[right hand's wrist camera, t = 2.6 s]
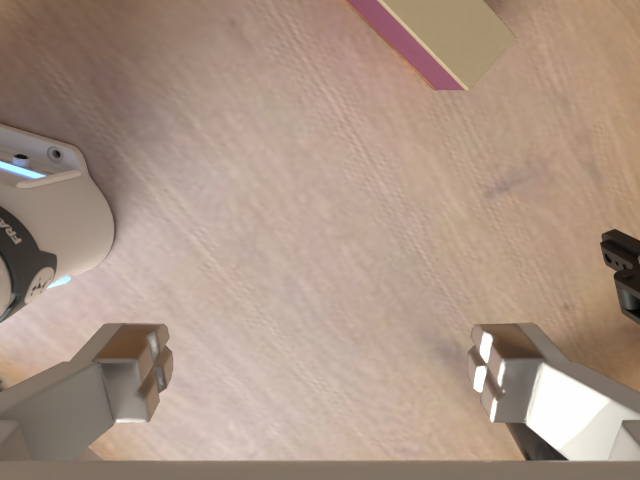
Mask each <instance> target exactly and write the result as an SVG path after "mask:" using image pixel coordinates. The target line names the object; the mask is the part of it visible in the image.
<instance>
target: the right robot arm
mask: <svg viewBox="0 0 640 480" xmlns="http://www.w3.org/2000/svg"><path fill="white" fill-rule="evenodd" d="M57 151H59V152H60V155H61V156H60V157H59V156H58V155H57ZM113 239H114V221H113V216H112V212H111V209H110V207H109V205H108V203H107V201H106V199H105V197H104V195H103V194H102V192H101V191H100V190H99V188H98V187H97V186H96V184H95V183H94V182H93V180H92V179H91V177H90V175H89V172H88V169H87V165H86V162H85V159H84V157H83V155H82V153H81V151H80V150H79V149H78V148H77V147H75V146H73V145H70V144H67V143H63V142H60V141H57V140H53V139H50V138H47V137H43V136H40V135H37V134H33V133H30V132H27V131H23V130H20V129H16V128H13V127H10V126H6V125H3V124H0V323H1V322H3V321H4V320H6V319H7V318H9V317H10V316H11V315H13V314H14V313H16V312H17V311H19V310H20V309H21V308H23V307H24V306H25V305H27V304H28V303H30V302H31V301H33V300H34V299H35V298H37V297H38V296H39V295H40V294H41V293H42V292H43V291H44V290H46V289H47V288H50V287H53V286H57V285H60V284H64V283H66V282H68V281H69V280H70V277H69V276H72V275H75V274H79V273H82V272H85V271H88V270H90V269H92V268H94V267H96V266H97V265H98V264H100V263H101V262H102V261H103V260H104V259H105V257H106V256H107V254H108V253H109V251H110V249H111V247H112V243H113ZM169 338H170V337H169V333H168V328H167V326H166V325H165V324H151V323H107V324H104V325H103V326H102V327H101V328H100V329H99V330H98V331H97V332H96V333H95V334H94V335H93V336H92V338H91V339H90V340H89V341H88V342H87V343H86V344H85V345H84V346H83V347H82V348H81V350H80V351H79V352H78V353H77V354H76V355H75V356H74V357H73V358H72V359H71V360H70V361H69V362H61V363H59V364H57V365H55V366H53V367H51V368H49V369H47V370H45V371H43V372H41V373H39V374H37V375H35V376H33V377H31V378H29V379H26V380H24V381H22V382H20V383H18V384H16V385H14V386H12V387H10V388H8V389H6V390H4V391H2V392H0V480H640V392H638V391H636V390H634V389H632V388H630V387H628V386H626V385H624V384H622V383H620V382H618V381H615V380H613V379H611V378H609V377H607V376H605V375H603V374H601V373H599V372H597V371H595V370H593V369H591V368H589V367H587V366H585V365H583V364H581V363H579V362H571V361H570V360H569V359H568V358H567V357H566V356H565V355H564V354H563V353H562V352H561V351H560V350H559V348H558V347H557V346H556V345H555V344H554V343H553V342H552V341H551V340H550V339H549V338H548V336H547V335H546V334H545V333H544V332H543V331H542V330H541V329H540V328H539V327H538V326H537V325H536V324H534V323H513V324H474V326H473V328H472V332H471V337H470V338H471V339H472V341H473V343H474V344H475V345H474V346H473V347H472V348H471V349H470V350H469V351H468V356H467V372H468V376H469V380H470V382H471V384H472V386H473V388H474V389H476V390H477V391H478V392H480V393H481V399H480V402H481V404H482V406H483V408H484V410H485V412H486V414H487V415H488V417H489V419H490V421H491V422H505V423H526V425H527V426H528V427H529V428H531V429H532V430H533V431H534V432H536V433H537V434H538V435H539V436H540V437H542V438H543V439H544V440H545V441H546V442H548V443H549V444H550V445H551V446H552V447H554V448H555V449H556V450H557V451H558V452H560V453H561V454H562V455H563V456H565V457H566V458H567V459H568V460H569V461H71V460H72V459H73V458H74V457H76V456H77V455H78V454H79V453H80V452H82V451H83V450H84V449H85V448H86V447H88V446H89V445H90V444H91V443H93V442H94V441H95V440H96V439H97V438H99V437H100V436H101V435H102V434H103V433H105V432H106V431H107V430H108V429H110V428H111V427H112V426H113V425H114V423H134V422H149V421H150V419H151V417H152V416H153V414H154V412H155V410H156V408H157V406H158V404H159V402H160V399H159V393H160V392H162V391H163V390H164V389H166V388H167V386H168V384H169V382H170V380H171V376H172V371H173V355H172V351H171V350H170V349H169V348H168V347H167V346H166V345H165V344H166V343H167V341H168V339H169Z"/></svg>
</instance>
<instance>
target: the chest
mask: <svg viewBox="0 0 640 480" xmlns="http://www.w3.org/2000/svg"><path fill="white" fill-rule="evenodd" d="M344 1H345V2H346V3H347V4H348V5H349V6H350V7H351V8H352V9H353V10H354V11H355V12H356V13H357V14H358V15H359V16H360V17H361V18H362V19H363V20H364V21H365V22H366V23H367V24H368V25H369V26H370V27H371V28H372V29H373V30H374V31H375V32H376V33H377V34H378V35H379V36H380V37H381V38H382V39H383V40H384V41H385V42H386V43H387V44H388V45H389V46H390V47H391V48H392V49H393V50H394V51H395V52H396V53H397V54H398V55H399V56H400V57H401V58H402V59H403V60H404V61H405V62H406V63H407V64H408V65H409V66H410V67H411V68H412V69H413V70H414V71H415V72H416V73H418V74H419V75H420V76H421V77H422V78H423V79H424V80H425V81H426V82H427V83H428V84H429V85H430V86H431V87H432V88H433V89H434V90H465V89H464V88H463V87H462V86H461V85H460V84H459V83H458V82H457V81H456V80H455V79H454V78H453V77H452V76H451V75H450V74H449V73H448V72H447V71H446V70H445V69H444V68H443V67H442V66H441V65H440V64H439V63H438V62H437V61H436V60H435V59H434V58H433V57H432V56H431V55H430V54H429V53H428V52H427V51H426V50H425V49H424V48H423V47H422V46H421V45H420V44H419V43H418V41H417V40H416V39H415V38H414V37H413V36H412V35H411V34H410V33H409V32H408V31H407V30H406V29H405V28H404V27H403V26H402V25H401V24H400V23H399V22H398V21H397V20H396V19H395V18H394V17H393V16H392V15H391V14H390V13H389V12H388V11H387V10H386V9H385V8H384V7H383V6H382V5H381V4H380V3H379V2H378V1H377V0H344Z"/></svg>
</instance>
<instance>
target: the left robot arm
mask: <svg viewBox="0 0 640 480" xmlns="http://www.w3.org/2000/svg"><path fill="white" fill-rule="evenodd" d="M602 241H603V242H601V243H600V245H601V249H602V254H603V258H604V262H605V264H606V265H607V266H609V267H610V268H613V269H614V270H615V271H617V272H616V273H615V274H614V280H615V285H616V289H617V294H618V298H619V303H620V307H621V311H622V313H623V314H624V315H626V316H627V317H629V318H630V319H632V320H633V321H635V322H637V323H638V324H640V241H639V240H637V239H635V238H633V237H631V236H629V235H627V234H625V233H622V232H620V231H618V230H616V229H613V230H611V231H608V232H606V233H603V234H602ZM505 424H506V426H507V427H508V429H509V431H510V433H511V435H512V436H513V438H514V440H515V442H516V444H517V445H518V447H519V449H520V451H521V453H522V454H523V456H524V458H525V460H526V461H569V460H568V459H567V458H566V457H565V456H563V455H562V454H561V453H560V452H558V451H557V450H556V449H555V448H554V447H552V446H551V445H550V444H549V443H548V442H546V441H545V440H544V439H543V438H542V437H540V436H539V435H538V434H537V433H536V432H534V431H533V430H532V429H531V428H529V427H528V426H527V425H526V423H505Z"/></svg>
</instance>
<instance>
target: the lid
mask: <svg viewBox="0 0 640 480" xmlns="http://www.w3.org/2000/svg"><path fill="white" fill-rule="evenodd" d="M377 1H378V2H379V3H380V4H381V5H382V6H383V7H384V8H385V9H386V10H387V11H388V12H389V13H390V14H391V15H392V16H393V17H394V18H395V19H396V20H397V21H398V22H399V23H400V24H401V25H402V26H403V27H404V28H405V29H406V30H407V31H408V32H409V33H410V34H411V35H412V36H413V37H414V38H415V39H416V40H417V41H418V43H419V44H420V45H421V46H422V47H423V48H424V49H425V50H426V51H427V52H428V53H429V54H430V55H431V56H432V57H433V58H434V59H435V60H436V61H437V62H438V63H439V64H440V65H441V66H442V67H443V68H444V69H445V70H446V71H447V72H448V73H449V74H450V75H451V76H452V77H453V78H454V79H455V80H456V81H457V82H458V83H459V84H460V85H461V86H462V87H463V88H464V89H465V90H470V89H471V88H472V86H473V85H474V84H475V83H476V82H477V81H478V80H479V79H480V78H481V77H482V76H483V74H484V73H485V72H486V71H487V70H488V69H489V68H490V67H491V66H492V65H493V64H494V62H495V61H496V60H497V59H498V58H499V57H500V56H501V55H502V54H503V53H504V52H505V50H506V49H507V48H508V47H509V46H510V45H511V44H512V43H513V42H514V41H515V40H516V38H517V37H516V36H515V35H514V33H513V32H512V31H511V30H510V29H509V28H508V27H507V26H506V24H505V23H504V22H503V21H502V20H501V19H500V18H499V17H498V15H497V14H496V13H495V12H494V11H493V10H492V9H491V8H490V7H489V5H488V4H487V3H486V2H485V1H484V0H377Z"/></svg>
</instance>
